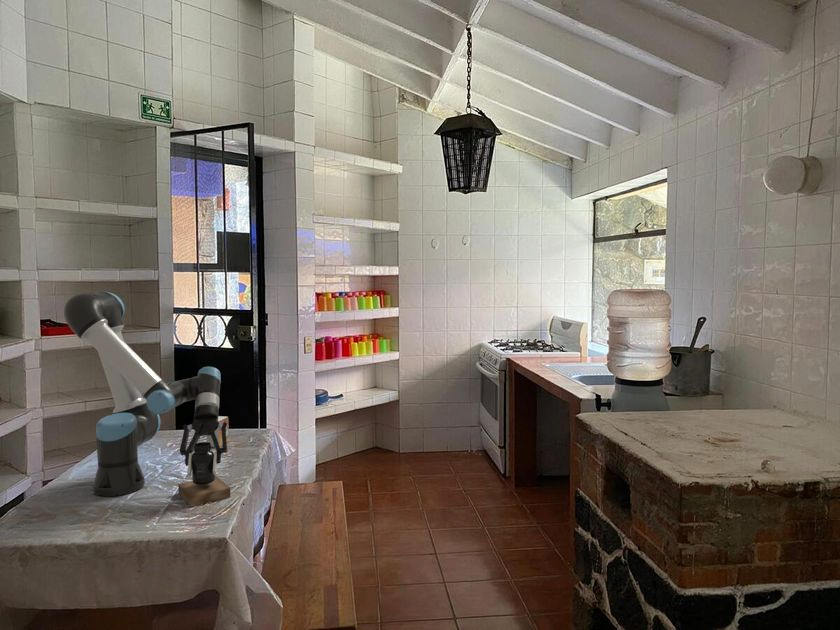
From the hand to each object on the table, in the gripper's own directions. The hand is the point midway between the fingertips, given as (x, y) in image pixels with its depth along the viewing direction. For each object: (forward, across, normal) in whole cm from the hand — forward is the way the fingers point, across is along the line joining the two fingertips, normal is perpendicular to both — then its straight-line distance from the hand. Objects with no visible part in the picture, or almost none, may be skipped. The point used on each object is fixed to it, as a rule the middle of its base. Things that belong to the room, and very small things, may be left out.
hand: (202, 473), depth 187 cm
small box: (-36, +2, -48) cm, 60 cm away
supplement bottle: (0, 0, -5) cm, 5 cm away
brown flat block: (+3, 0, -8) cm, 9 cm away
